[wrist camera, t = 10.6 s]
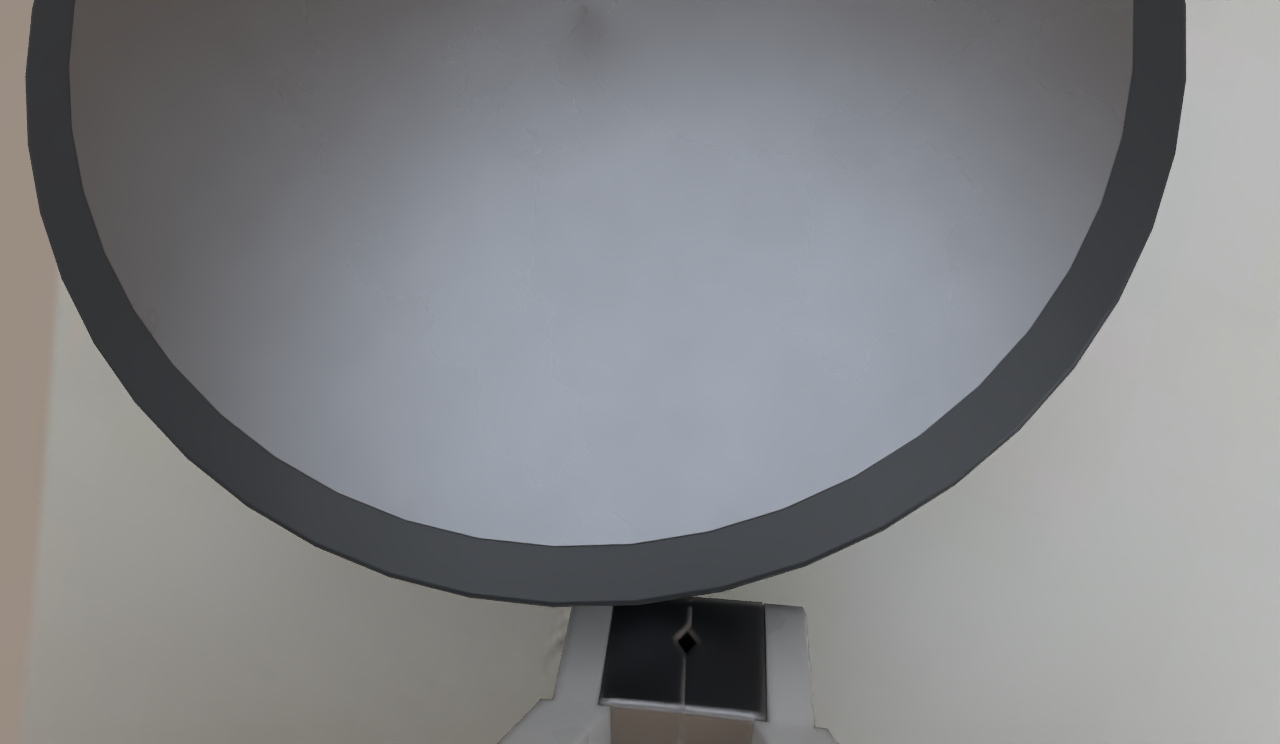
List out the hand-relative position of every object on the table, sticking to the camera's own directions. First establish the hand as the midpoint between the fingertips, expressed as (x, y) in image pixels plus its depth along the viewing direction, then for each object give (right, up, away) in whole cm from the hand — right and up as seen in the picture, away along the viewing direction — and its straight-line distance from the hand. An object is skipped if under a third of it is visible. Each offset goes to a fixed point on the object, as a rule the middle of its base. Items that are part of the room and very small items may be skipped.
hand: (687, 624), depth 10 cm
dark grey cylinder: (-1, +8, +6) cm, 10 cm away
